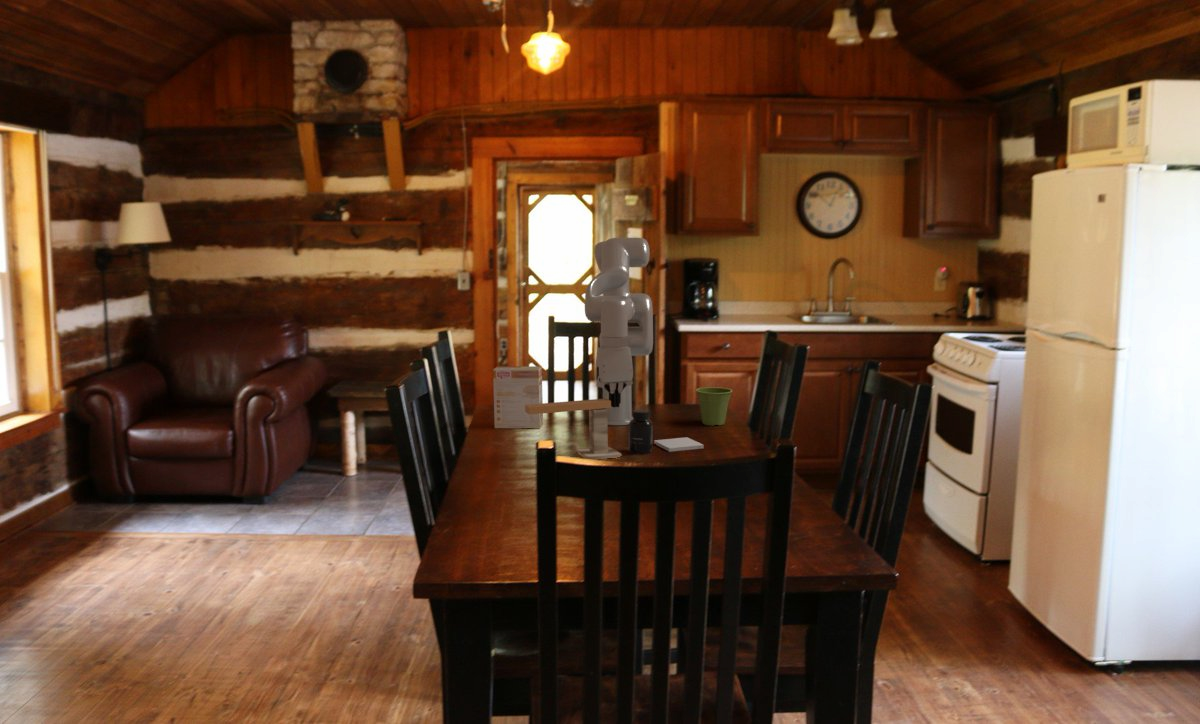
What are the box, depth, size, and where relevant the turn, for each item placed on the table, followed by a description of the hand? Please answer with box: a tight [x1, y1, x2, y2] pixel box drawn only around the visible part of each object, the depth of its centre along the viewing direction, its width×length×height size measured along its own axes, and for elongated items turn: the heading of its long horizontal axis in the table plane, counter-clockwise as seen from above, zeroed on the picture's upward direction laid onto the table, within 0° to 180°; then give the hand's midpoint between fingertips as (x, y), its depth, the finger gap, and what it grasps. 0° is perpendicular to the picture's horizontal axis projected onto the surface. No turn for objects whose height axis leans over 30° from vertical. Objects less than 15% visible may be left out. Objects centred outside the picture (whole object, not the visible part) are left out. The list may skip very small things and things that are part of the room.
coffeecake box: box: [492, 365, 544, 430], centre depth 321 cm, size 15×7×20 cm, turn 84°
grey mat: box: [653, 436, 704, 453], centre depth 293 cm, size 11×11×1 cm
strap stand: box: [575, 408, 623, 461], centre depth 281 cm, size 10×10×14 cm
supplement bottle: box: [628, 409, 654, 454], centre depth 286 cm, size 7×7×12 cm
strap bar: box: [525, 398, 611, 415], centre depth 277 cm, size 4×24×2 cm, turn 111°
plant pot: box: [695, 386, 733, 427], centre depth 323 cm, size 12×12×11 cm
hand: (614, 406), depth 282 cm, fingers closed
